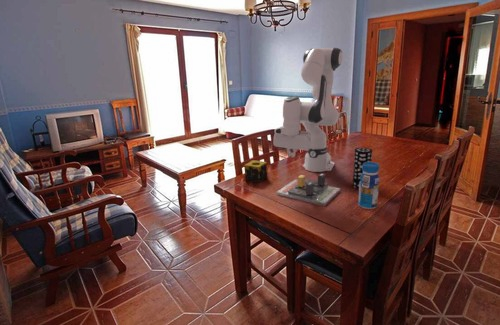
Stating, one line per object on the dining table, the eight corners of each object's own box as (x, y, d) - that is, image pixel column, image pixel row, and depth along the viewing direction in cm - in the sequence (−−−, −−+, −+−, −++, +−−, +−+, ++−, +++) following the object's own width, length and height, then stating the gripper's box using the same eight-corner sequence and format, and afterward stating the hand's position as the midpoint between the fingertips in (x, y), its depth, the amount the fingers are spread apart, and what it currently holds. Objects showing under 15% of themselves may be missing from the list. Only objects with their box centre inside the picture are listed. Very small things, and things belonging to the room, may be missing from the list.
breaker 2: (308, 191, 143) (309, 181, 142) (313, 192, 142) (313, 182, 140) (305, 194, 141) (305, 184, 139) (310, 195, 139) (310, 185, 138)
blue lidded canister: (354, 202, 137) (357, 161, 131) (372, 200, 138) (375, 160, 132) (362, 210, 129) (365, 167, 123) (381, 208, 130) (385, 166, 124)
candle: (253, 175, 179) (252, 159, 176) (267, 177, 174) (267, 161, 171) (244, 180, 171) (243, 164, 168) (259, 183, 166) (258, 166, 163)
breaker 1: (300, 183, 153) (300, 174, 152) (305, 184, 152) (305, 175, 150) (297, 186, 151) (297, 176, 149) (301, 187, 149) (301, 177, 148)
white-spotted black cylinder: (349, 184, 158) (351, 149, 151) (361, 182, 160) (364, 147, 154) (359, 190, 150) (362, 152, 144) (372, 187, 153) (375, 150, 147)
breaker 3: (320, 182, 154) (320, 173, 152) (324, 183, 153) (325, 173, 151) (317, 184, 151) (317, 175, 150) (322, 185, 150) (322, 176, 148)
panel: (295, 181, 165) (295, 177, 164) (339, 191, 150) (340, 185, 149) (276, 194, 150) (276, 189, 149) (324, 206, 135) (324, 200, 134)
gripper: (313, 130, 142) (313, 157, 146) (277, 127, 154) (278, 152, 158) (308, 133, 137) (307, 160, 141) (271, 129, 149) (272, 155, 153)
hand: (291, 156), depth 150 cm, fingers closed
